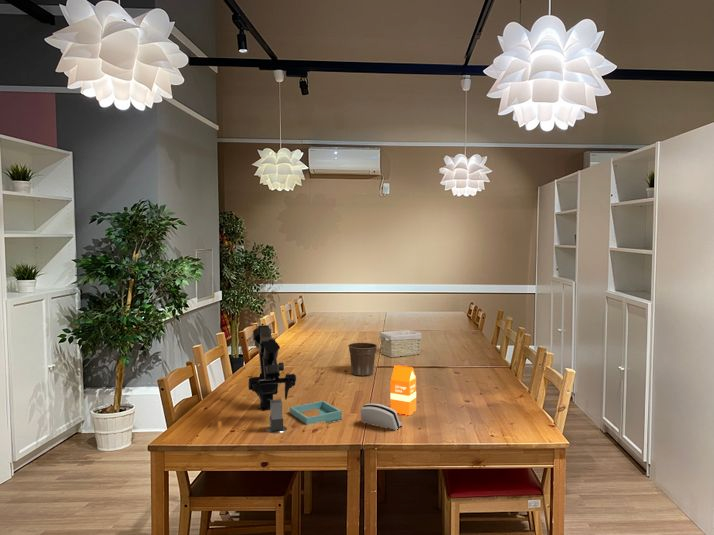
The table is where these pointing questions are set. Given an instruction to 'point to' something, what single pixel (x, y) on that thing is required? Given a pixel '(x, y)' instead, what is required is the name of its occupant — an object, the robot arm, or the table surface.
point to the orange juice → (403, 390)
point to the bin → (325, 409)
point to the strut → (276, 415)
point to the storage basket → (400, 343)
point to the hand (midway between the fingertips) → (274, 400)
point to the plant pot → (362, 358)
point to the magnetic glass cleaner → (380, 416)
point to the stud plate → (277, 431)
